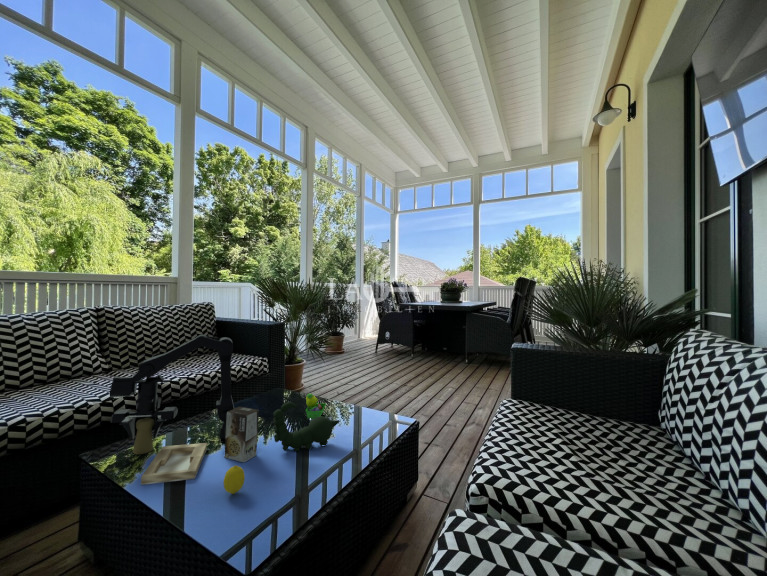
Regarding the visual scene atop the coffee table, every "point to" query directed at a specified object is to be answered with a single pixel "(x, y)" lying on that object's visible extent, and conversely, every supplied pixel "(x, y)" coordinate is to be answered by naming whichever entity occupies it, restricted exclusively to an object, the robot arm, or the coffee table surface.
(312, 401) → the fruit basket
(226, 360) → the robot arm
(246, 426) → the coffee box
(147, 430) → the cork
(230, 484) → the lemon
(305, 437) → the toy figurine
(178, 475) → the keyhole plate
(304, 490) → the coffee table surface
